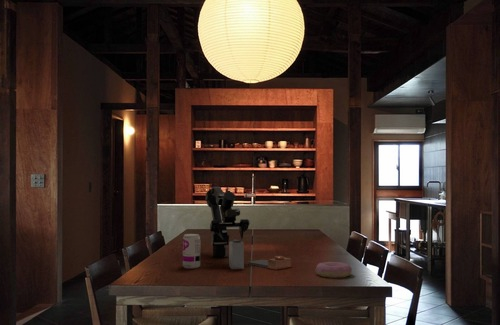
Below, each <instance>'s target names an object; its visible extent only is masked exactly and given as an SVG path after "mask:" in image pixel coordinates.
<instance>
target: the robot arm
mask: <svg viewBox="0 0 500 325" xmlns="http://www.w3.org/2000/svg"><path fill="white" fill-rule="evenodd" d="M204 197H205V202H206V204H207V206H208V207H209V208H210V211H211V216H212V219H211V222H210V226H209V230H210V232H211V233H212V234H211V238H210V245H211V246H212V256H211V257H212V258H225V257H227V256H228V248H227V246H229V241H230V235H229V233H228V230H227V228H229V229H230V228H238V229H239V230H238V231H239V235H240V236H239V237H240V239H241V240H243V238H244V232H246V231H247V230H249V226H250V220H249V219H247V218H246V219H240V221H239V222H236V221H237V217H238V216H240V215H241V209H240V208H234V209H233V207H234V203H235V199H236V195H235V193H233V192H231V190H225V192H224V191H223V190H222V187H221V186H211V187H210V189H209V190H208V191H206V193H205V196H204Z"/></svg>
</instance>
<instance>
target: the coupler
mask: <svg viewBox="0 0 500 325" xmlns="http://www.w3.org/2000/svg"><path fill="white" fill-rule="evenodd" d="M291 261H292V258H290V257H285V256H282V255H275V256H274V258H271V259H259V260H258V259H257V260H251V261H247V265H248V264H249V266H253V265H255V267H260V268H264V267H265V269H269V268H270V269H271V270H275V271H276V270H282V269H287V268H291V267H292V262H291Z"/></svg>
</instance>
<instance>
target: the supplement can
mask: <svg viewBox="0 0 500 325" xmlns="http://www.w3.org/2000/svg"><path fill="white" fill-rule="evenodd" d="M182 267H183V268H184V269H197V268H199V267H201V236H200V234H199V233H198V234H197V233H186V234H184V235H183V237H182Z"/></svg>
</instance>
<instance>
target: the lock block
mask: <svg viewBox="0 0 500 325" xmlns="http://www.w3.org/2000/svg"><path fill="white" fill-rule="evenodd" d="M244 243H245V242H244V241H242V240H240V239H234V238H233V239H232V240H231V241H230V240H229V245H228V248H229V249H228V268H229V267H230V268H229V269H231V270H244V269H245V262H244V261H245V244H244Z"/></svg>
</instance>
